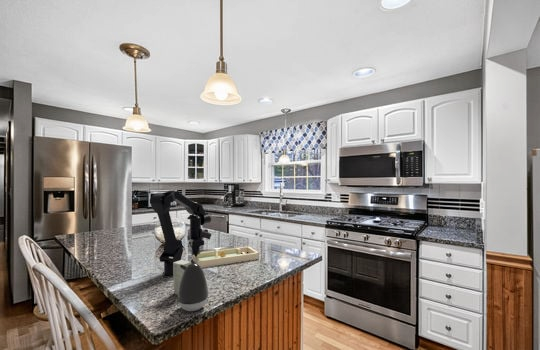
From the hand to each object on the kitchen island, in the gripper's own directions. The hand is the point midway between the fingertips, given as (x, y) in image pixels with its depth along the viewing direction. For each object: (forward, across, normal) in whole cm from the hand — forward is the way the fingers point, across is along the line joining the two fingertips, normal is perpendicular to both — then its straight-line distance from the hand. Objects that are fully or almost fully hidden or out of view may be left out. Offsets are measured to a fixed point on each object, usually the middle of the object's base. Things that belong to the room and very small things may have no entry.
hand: (195, 255), depth 136 cm
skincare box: (+4, -36, +11) cm, 38 cm away
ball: (+1, 0, -15) cm, 15 cm away
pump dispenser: (+4, -50, +9) cm, 51 cm away
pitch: (+4, -1, -17) cm, 17 cm away
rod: (+3, 0, -10) cm, 10 cm away
